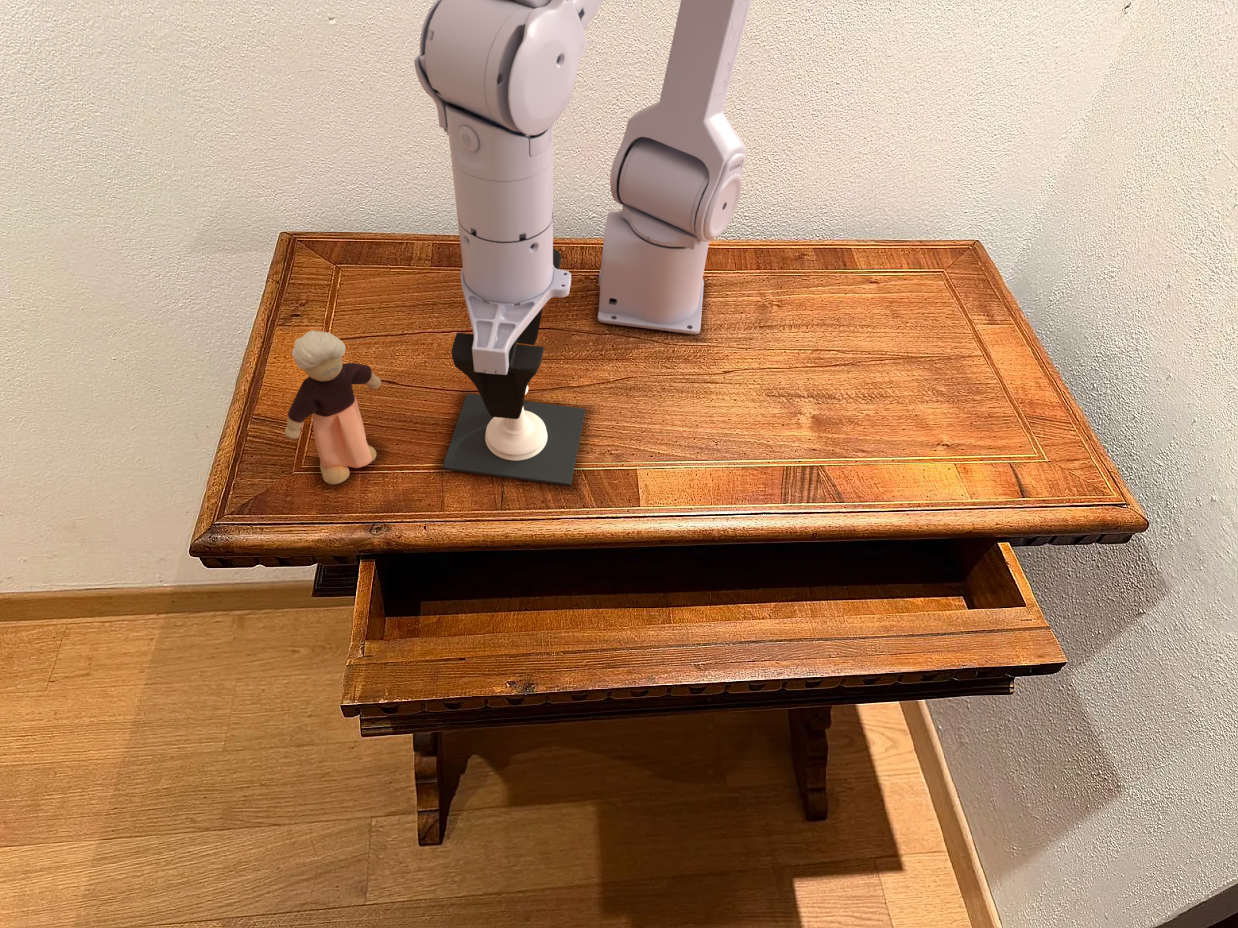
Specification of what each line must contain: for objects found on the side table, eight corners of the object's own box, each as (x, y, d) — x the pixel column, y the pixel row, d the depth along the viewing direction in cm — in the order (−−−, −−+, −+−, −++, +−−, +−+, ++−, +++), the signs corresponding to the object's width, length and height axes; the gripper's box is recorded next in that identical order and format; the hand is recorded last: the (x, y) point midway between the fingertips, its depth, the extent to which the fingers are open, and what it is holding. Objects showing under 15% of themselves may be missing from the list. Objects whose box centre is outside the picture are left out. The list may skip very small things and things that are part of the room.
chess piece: (505, 470, 61) (499, 378, 54) (473, 430, 64) (463, 336, 56) (559, 444, 63) (560, 351, 56) (526, 406, 66) (523, 312, 58)
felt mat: (442, 469, 61) (442, 467, 61) (467, 395, 66) (466, 393, 66) (570, 486, 61) (570, 484, 61) (585, 411, 66) (585, 408, 66)
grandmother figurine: (335, 503, 59) (291, 381, 49) (297, 479, 60) (247, 356, 50) (405, 438, 63) (378, 315, 53) (369, 418, 64) (336, 293, 54)
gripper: (556, 298, 43) (555, 457, 54) (584, 157, 52) (578, 316, 63) (427, 285, 43) (451, 446, 54) (477, 147, 52) (489, 307, 63)
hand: (513, 376), depth 58 cm, fingers open, 7 cm apart
